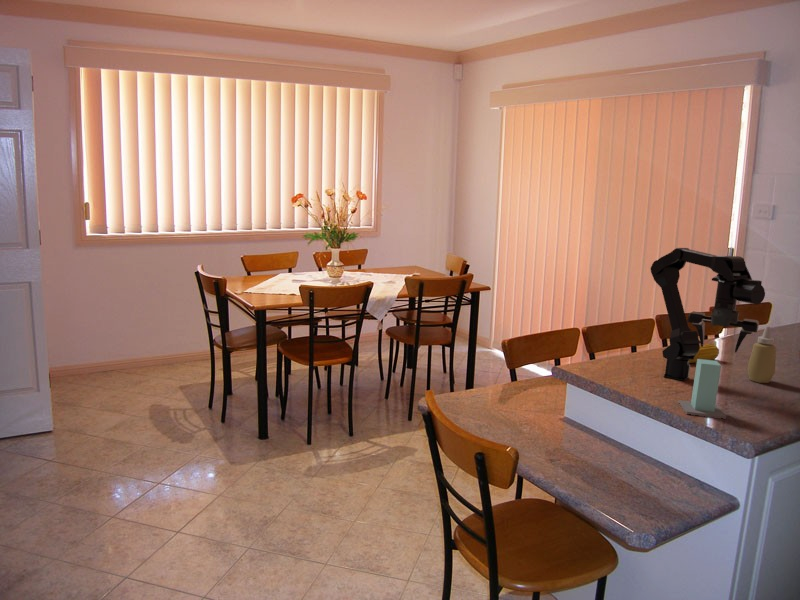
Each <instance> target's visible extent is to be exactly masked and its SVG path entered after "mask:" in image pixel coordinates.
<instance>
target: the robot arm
mask: <svg viewBox="0 0 800 600" xmlns="http://www.w3.org/2000/svg"><path fill="white" fill-rule="evenodd" d="M686 263H688V264H689V263H690V264H694V265H697V266H701V267H705V268H708V269H710V270H712V272H714V273H716V276H714V277H712V278H711V281H713V282H716V283H717V286H716V287H717V288H716V293H715V300H714V307H713V309H712V311H711V316H709V315H706V313H705V312H701V311H692V312H690V313H688V317H687V316H686V313H685V309H684V305H683V301H682V299H681V294H680V290H679V286H678V283H679V279H680V271H681V270H682V269H684V267H685V265H686ZM749 271H750V270H749V269H748V267H747V265H746V261H745V258H744V257H742V256H741V255H739V256H738V255H737V256H736V255H734V256H733V255H716V254H711V253H707V252H703V251H698V250H695V249H690V248H689V247H676V248H675V249H674V248H673V250H672V251H670V252H669V253H667V254H665V255H662V256H661V257H659V258H658V259H657V260H655V261H654V262H652V264H651V266H650V273H651V275H652V278H653V280H654V282H655V283H656V284H657V285H658V286H659V287H660V289H661V291H662V296H663V300H664V304H665V309H666V312H667V316H668V319H669V323H670V324H669V325H670V327H671V332H670V335H669V345H668V346H667V347H666V348H664V349H663V350H662V358H664V359H666V363H665V370H664V374H663V378H666V379H667V378H668V379H673V380H678V381H686V380H687V379H688V378H689V377H690V371H691V363H689V360H693V359H694V357H695V355H696V354H697V353H698V351H699V349H700V346H701V347H703V345H705V329H706V323H710V324H711V325H712V326H719V327H722V328H728V327H730V326H732V327H733V326H734V327H739V328H741V329H740V331H739V335H738V338H737V340H736V341H737V342H736V344H735V349H734V353H737V352H738V350H739V349H740V346H741V344H742V343H743V341H744V339H745V337H746V336H747V335H752V333H758V331H759V327H760V326H759V325H760V322H759V320H757V319H751V318H744V319H743V320H739V317H740V316H739V314H740V312H739V311H738V310H736V307H737V302H741V303H746V304H751V305H756V306H758V305H760V304H761V303H762V302H763V301H764V299H765V296H766V292H765V288H764V286H763V285H762V280H757V279H756V280H755V279H753V278H752V276H751V273H750V272H749ZM689 323H691V326H693V327H695V328H696V330H692V329H691V328H690V327H689Z"/></svg>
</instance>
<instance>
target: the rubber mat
mask: <svg viewBox="0 0 800 600" xmlns="http://www.w3.org/2000/svg"><path fill="white" fill-rule="evenodd" d="M678 402H679V403H680V404H679V403H678V404H679V406H680V405H681V406H682V407H681V406H680V407H681V409H682V408H683V409H682V410H683V412H684V411H685V412H686V413H685V412H684V413H685V415H686V414H691V415H690V416H695V415H699V416H698V417H704V416H705V417H706V418H712V417H714V418H713V419H721V418H723V419H722V420H727V415H726V414H725V413H724V411H723V410H722V409H721V408H720V407H719V406H718V404H716V405H715V411H714V412H710V411H702V410H695V409H694V408H693V406H692V405H691V400H681V399H679V400H678Z"/></svg>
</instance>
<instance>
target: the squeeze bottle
mask: <svg viewBox="0 0 800 600" xmlns="http://www.w3.org/2000/svg"><path fill="white" fill-rule="evenodd" d="M771 333H772V332H771V327H770V326H765V327H764V330H763V333H762V335H760V336H758V337H757V342H755V343H754V344H753V346H752V350H751V354H750V358H749V359H748V365H747V374H748V377H749V380H751V381H752V382H755V383H759V384H769V383H770V382H771V381H772V379H773V378H774V375H775V373H776V363H777V362H776V361H777V359H776V358H777V346H775V345H774V344H775V339H774V337H772V334H771Z"/></svg>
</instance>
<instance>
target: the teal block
mask: <svg viewBox="0 0 800 600" xmlns="http://www.w3.org/2000/svg"><path fill="white" fill-rule="evenodd" d="M695 365H696V366H695V373H694V380H693V385H692V386H693V387H692V393H691V400H690V401H691V405H692V406H693V408H694V409H695V410H702V411H710V412H714V411H715V405H717V396H718V391H719V390H718V389H719V384H720V377H721V372H722V364H720V363H719V361H718V360H714V359H712V360H703V359H697V363H695Z"/></svg>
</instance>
